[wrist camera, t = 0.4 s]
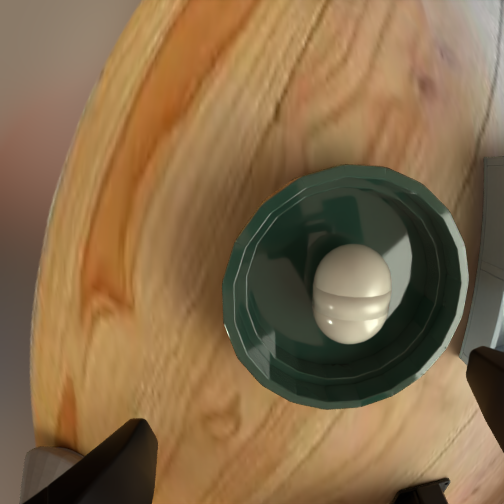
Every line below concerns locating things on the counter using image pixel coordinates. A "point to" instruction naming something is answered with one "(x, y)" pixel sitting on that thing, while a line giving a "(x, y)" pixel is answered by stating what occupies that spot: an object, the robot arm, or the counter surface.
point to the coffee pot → (45, 468)
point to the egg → (351, 293)
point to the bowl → (302, 276)
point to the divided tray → (489, 268)
